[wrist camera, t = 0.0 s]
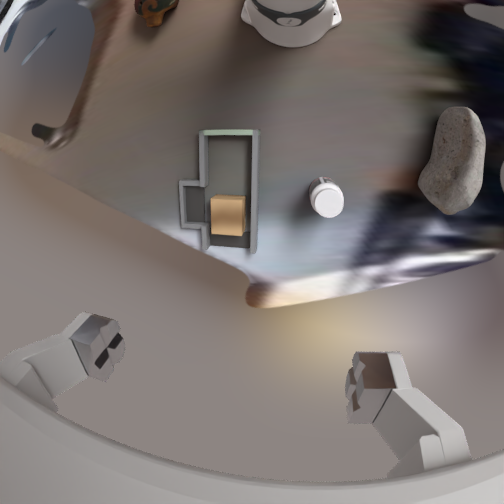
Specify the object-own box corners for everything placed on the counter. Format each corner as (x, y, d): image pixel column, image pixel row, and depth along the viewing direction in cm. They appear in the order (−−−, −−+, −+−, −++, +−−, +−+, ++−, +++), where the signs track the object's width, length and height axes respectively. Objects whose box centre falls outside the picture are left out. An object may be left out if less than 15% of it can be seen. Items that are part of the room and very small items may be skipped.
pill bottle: (314, 209, 55) (316, 225, 46) (304, 181, 53) (306, 192, 44) (342, 200, 53) (350, 215, 44) (333, 172, 51) (340, 181, 42)
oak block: (216, 194, 57) (210, 198, 53) (246, 195, 56) (242, 200, 52) (217, 227, 60) (211, 233, 56) (245, 229, 59) (241, 236, 55)
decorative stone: (444, 209, 50) (406, 193, 50) (469, 124, 41) (432, 103, 42) (484, 239, 35) (441, 220, 35) (517, 130, 26) (476, 99, 27)
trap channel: (180, 131, 52) (175, 131, 50) (260, 129, 50) (258, 129, 48) (185, 242, 62) (181, 247, 60) (257, 248, 60) (255, 253, 58)
